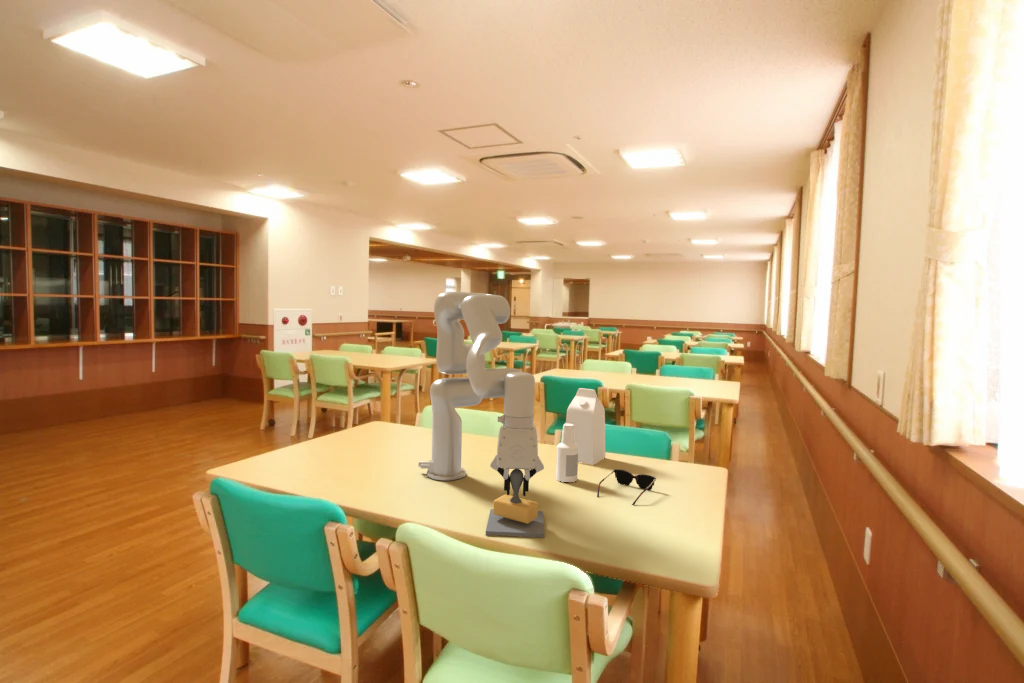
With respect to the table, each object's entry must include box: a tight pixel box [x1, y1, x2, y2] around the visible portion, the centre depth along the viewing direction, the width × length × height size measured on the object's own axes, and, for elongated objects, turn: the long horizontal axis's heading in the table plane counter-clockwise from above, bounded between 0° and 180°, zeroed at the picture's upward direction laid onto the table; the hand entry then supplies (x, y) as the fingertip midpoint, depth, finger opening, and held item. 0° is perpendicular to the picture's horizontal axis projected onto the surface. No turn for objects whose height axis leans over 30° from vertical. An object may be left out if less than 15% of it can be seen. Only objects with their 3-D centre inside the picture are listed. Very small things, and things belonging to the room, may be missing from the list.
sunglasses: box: [596, 468, 657, 506], centre depth 157 cm, size 14×16×5 cm
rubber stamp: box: [492, 469, 539, 524], centre depth 132 cm, size 10×6×12 cm, turn 60°
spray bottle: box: [555, 423, 579, 483], centre depth 168 cm, size 7×7×18 cm
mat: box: [485, 508, 545, 539], centre depth 132 cm, size 14×14×1 cm
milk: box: [565, 387, 606, 466], centre depth 192 cm, size 12×12×26 cm
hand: (516, 493), depth 132 cm, fingers closed on rubber stamp, 3 cm apart
